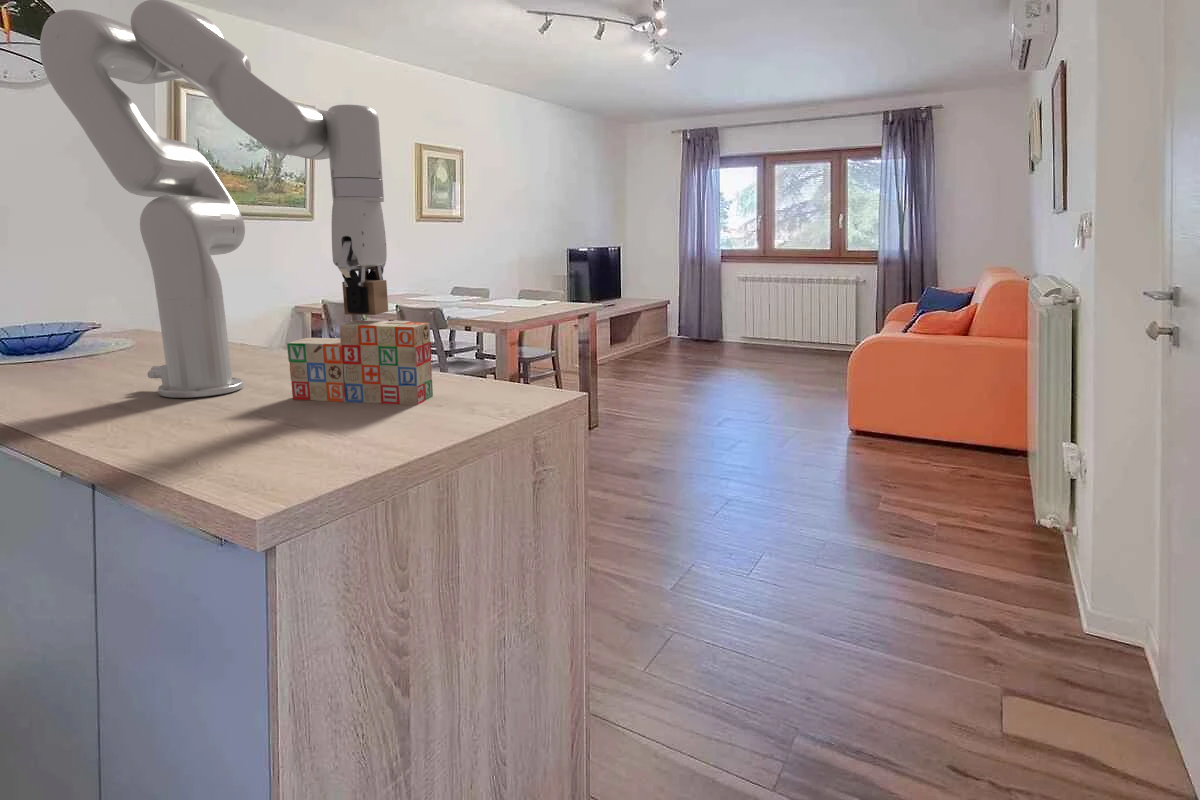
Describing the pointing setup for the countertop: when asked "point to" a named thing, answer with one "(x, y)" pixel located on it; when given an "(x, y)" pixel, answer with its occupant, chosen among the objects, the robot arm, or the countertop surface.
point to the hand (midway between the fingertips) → (366, 309)
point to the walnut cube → (372, 297)
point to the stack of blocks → (365, 364)
